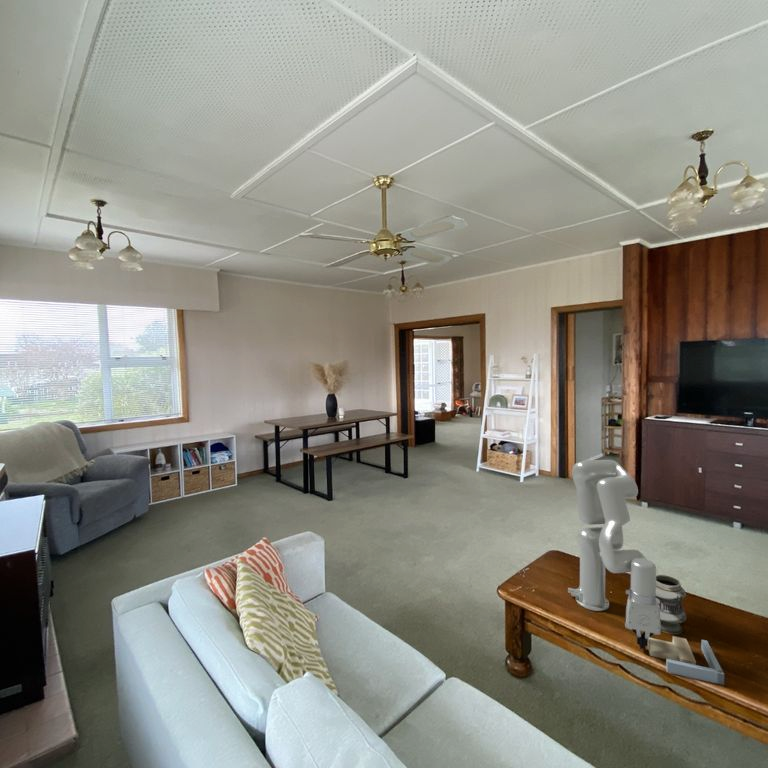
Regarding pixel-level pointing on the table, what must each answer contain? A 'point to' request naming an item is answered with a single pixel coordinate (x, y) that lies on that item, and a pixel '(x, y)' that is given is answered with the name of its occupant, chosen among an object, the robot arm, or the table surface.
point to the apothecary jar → (670, 603)
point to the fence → (699, 667)
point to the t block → (671, 650)
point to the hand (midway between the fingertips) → (642, 646)
